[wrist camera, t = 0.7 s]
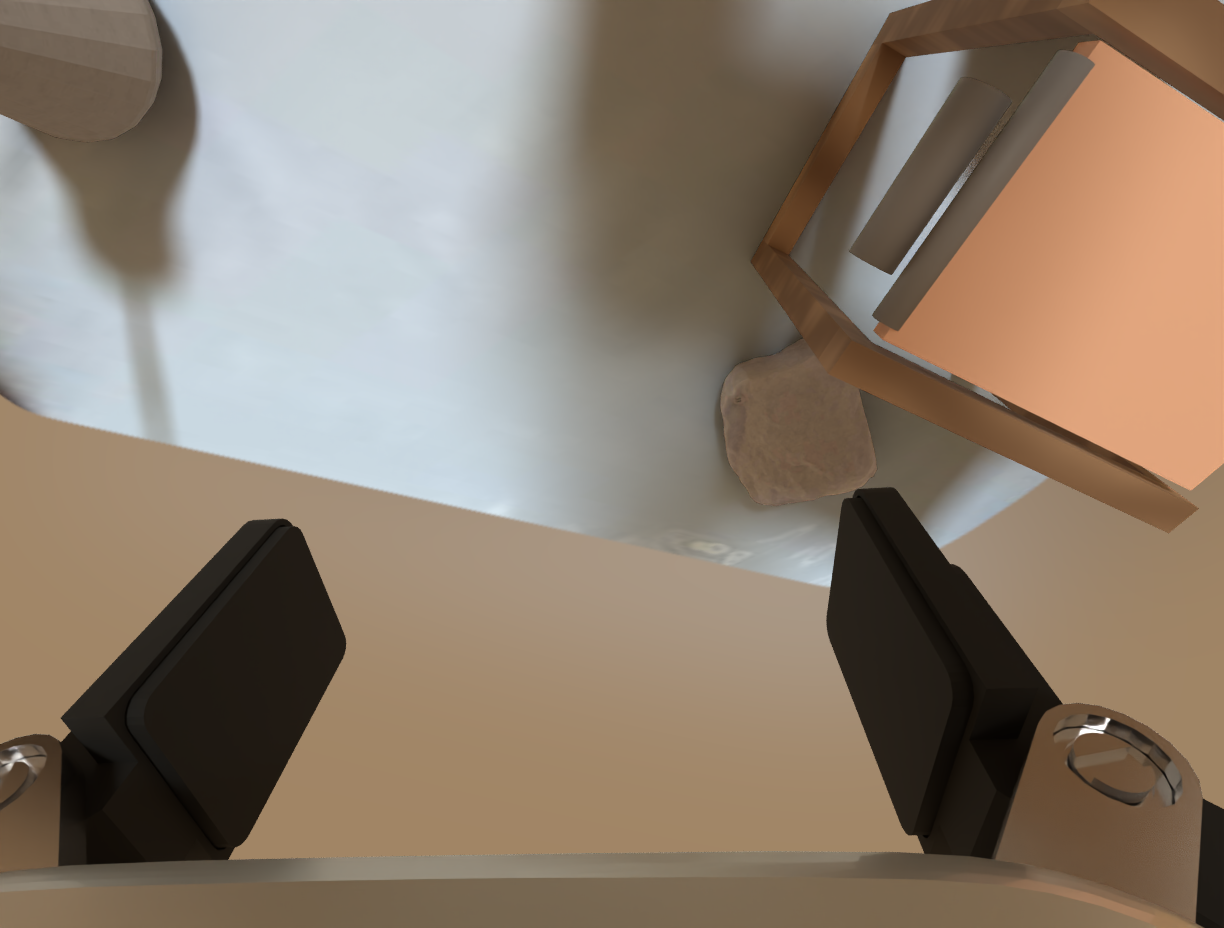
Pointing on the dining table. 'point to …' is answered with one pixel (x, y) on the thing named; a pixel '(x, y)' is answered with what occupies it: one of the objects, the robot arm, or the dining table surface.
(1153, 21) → the stand
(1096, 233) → the trapdoor
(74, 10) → the coffee pot
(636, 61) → the dining table surface
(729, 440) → the stone block
